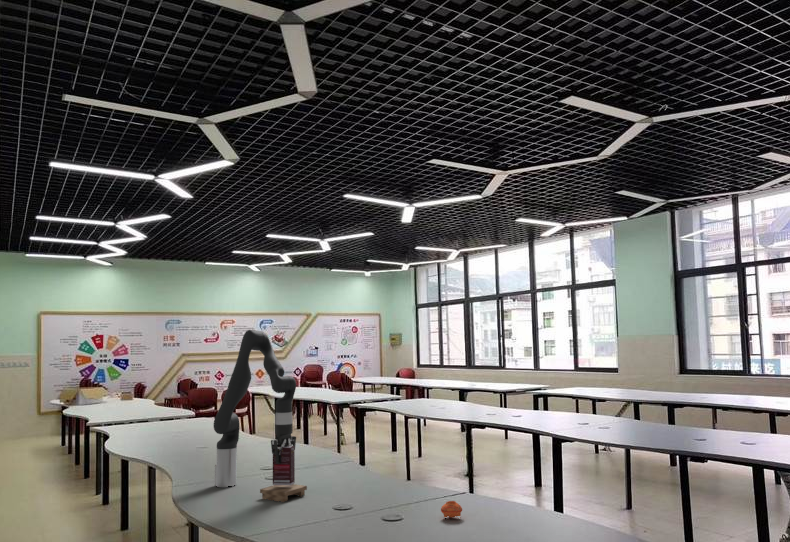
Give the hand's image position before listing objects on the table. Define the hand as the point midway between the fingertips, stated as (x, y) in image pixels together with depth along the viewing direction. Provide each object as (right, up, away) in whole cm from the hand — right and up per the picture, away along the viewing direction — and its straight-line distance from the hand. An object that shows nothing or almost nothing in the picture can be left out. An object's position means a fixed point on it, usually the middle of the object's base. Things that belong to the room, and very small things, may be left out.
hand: (283, 462), depth 270 cm
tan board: (0, -14, -2) cm, 14 cm away
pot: (+69, -9, -40) cm, 80 cm away
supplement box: (0, -9, -1) cm, 9 cm away
